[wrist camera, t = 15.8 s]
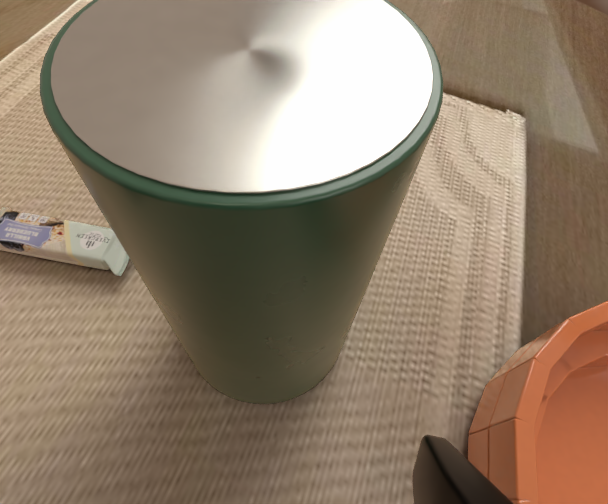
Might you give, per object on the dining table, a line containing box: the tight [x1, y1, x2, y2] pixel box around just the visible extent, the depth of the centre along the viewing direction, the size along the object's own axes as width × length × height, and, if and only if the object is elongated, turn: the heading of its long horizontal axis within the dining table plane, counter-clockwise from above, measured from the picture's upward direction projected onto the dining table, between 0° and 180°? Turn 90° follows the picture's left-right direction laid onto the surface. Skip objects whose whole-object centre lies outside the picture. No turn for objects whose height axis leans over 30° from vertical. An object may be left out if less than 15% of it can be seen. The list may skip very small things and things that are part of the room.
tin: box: [40, 0, 443, 404], centre depth 12 cm, size 7×7×12 cm
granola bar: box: [0, 207, 129, 276], centre depth 18 cm, size 7×2×1 cm, turn 79°
